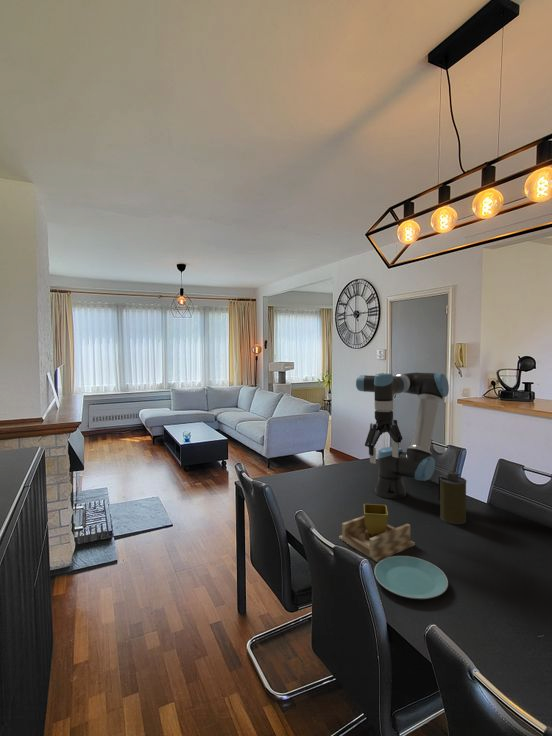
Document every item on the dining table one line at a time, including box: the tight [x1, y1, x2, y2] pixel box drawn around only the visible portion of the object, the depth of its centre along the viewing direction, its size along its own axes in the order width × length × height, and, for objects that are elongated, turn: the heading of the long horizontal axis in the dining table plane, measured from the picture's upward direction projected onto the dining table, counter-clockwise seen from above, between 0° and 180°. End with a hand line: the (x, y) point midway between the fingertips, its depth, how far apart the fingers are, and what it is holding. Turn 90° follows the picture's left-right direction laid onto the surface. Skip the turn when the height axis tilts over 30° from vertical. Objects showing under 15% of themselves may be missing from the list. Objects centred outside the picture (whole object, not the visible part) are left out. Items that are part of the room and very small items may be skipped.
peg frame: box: [338, 515, 416, 563], centre depth 149 cm, size 20×20×7 cm
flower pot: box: [363, 503, 389, 535], centre depth 149 cm, size 9×9×9 cm
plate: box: [373, 555, 449, 600], centre depth 123 cm, size 22×22×3 cm
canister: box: [438, 471, 467, 525], centre depth 166 cm, size 11×10×20 cm
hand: (384, 459), depth 164 cm, fingers open, 13 cm apart
